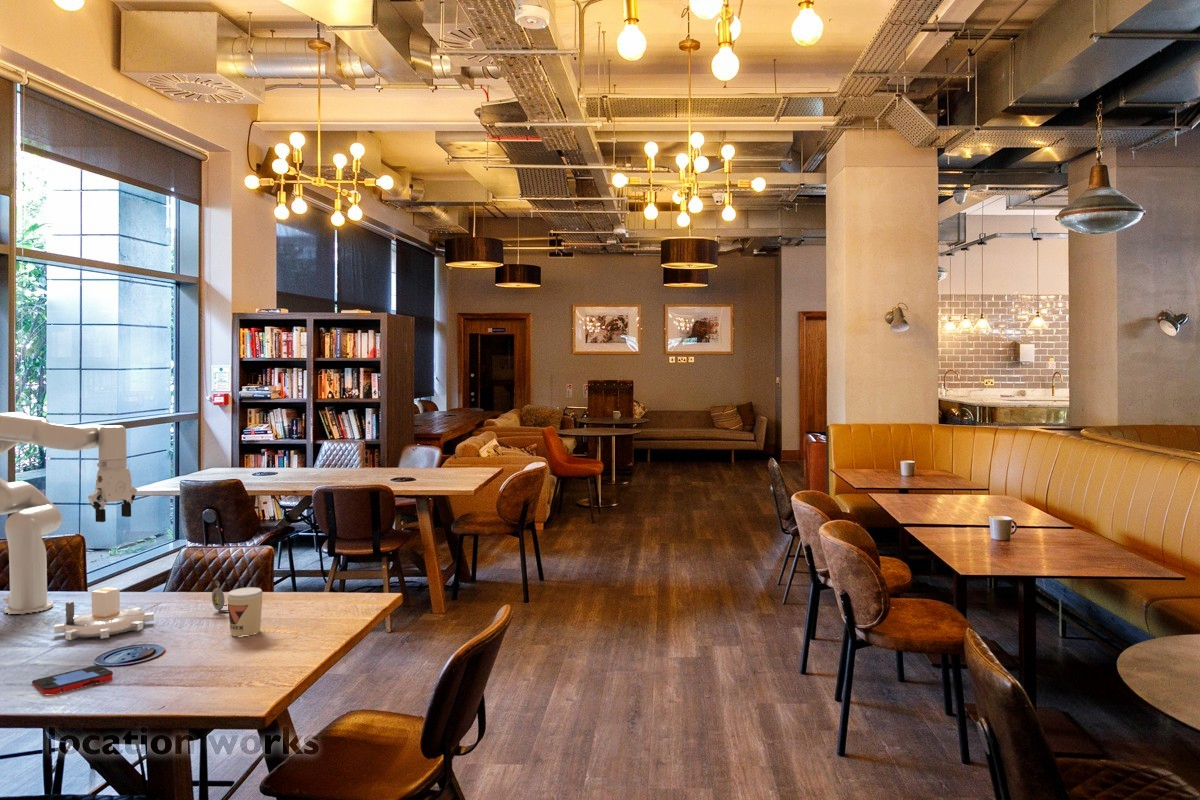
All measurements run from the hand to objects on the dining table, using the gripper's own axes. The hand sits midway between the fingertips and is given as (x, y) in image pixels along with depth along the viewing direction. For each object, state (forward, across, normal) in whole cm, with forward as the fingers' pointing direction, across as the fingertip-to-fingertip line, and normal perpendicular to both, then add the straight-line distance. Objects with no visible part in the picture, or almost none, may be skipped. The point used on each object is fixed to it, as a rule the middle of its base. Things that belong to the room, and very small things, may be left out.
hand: (113, 519), depth 255 cm
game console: (+29, -52, -41) cm, 72 cm away
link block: (+25, -14, -11) cm, 31 cm away
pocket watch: (+28, +7, -35) cm, 46 cm away
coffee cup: (+28, -10, -56) cm, 64 cm away
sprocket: (+28, -18, -15) cm, 37 cm away
